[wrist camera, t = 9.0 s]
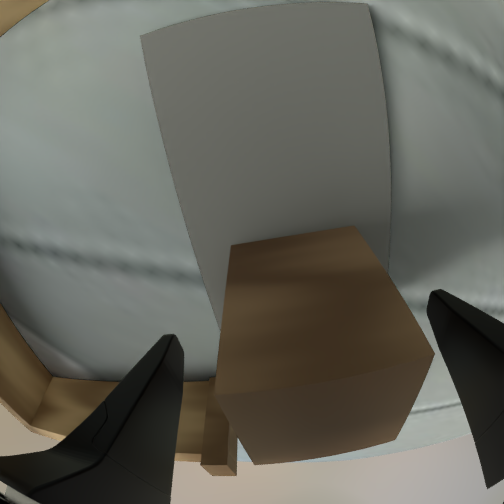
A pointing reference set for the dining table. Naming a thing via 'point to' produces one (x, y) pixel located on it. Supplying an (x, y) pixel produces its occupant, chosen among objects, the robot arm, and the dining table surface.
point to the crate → (94, 392)
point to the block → (315, 348)
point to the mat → (273, 127)
